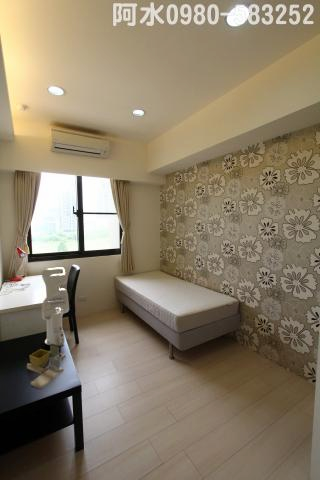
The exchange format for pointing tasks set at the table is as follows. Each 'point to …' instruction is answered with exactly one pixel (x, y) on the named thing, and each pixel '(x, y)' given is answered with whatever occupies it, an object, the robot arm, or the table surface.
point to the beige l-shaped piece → (49, 372)
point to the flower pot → (39, 358)
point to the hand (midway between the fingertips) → (56, 352)
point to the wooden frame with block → (53, 352)
